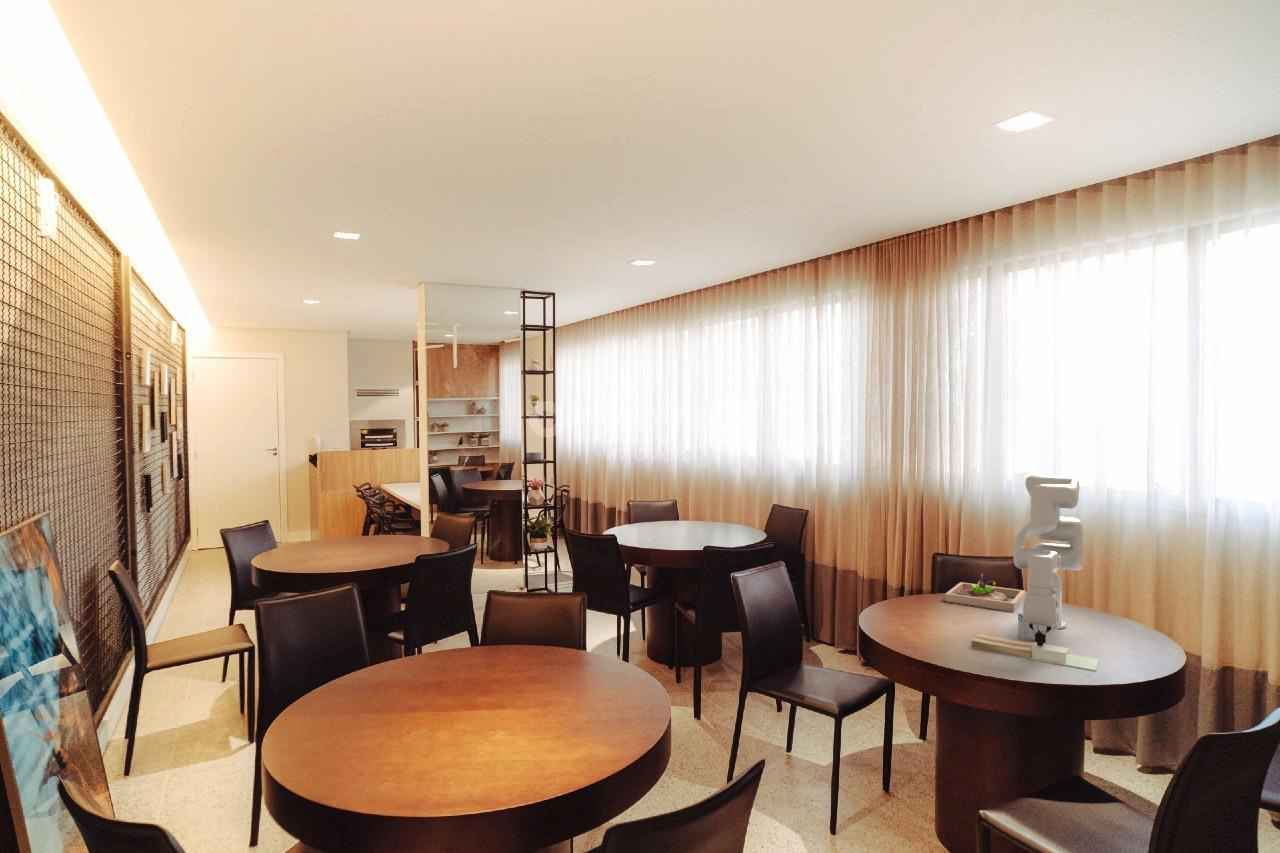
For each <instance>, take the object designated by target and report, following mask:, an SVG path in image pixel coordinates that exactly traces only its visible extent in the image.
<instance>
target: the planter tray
mask: <svg viewBox="0 0 1280 853" xmlns="http://www.w3.org/2000/svg"><path fill="white" fill-rule="evenodd" d="M971 584H972V583H968V582H962V581H961V582H959V583H957V584H956V585H955V586H954V587H952V588H951V589H950V590H948V591H947V592H946V593H944V602H945V601H948V602H947V603H950V602H955V603H954V604H957V603H962V604H961V605H964V604H969V605H968V606H970V605H975V606H974V607H977V606H980V607H979V608H984V607H986V608H985V609H990V608H992V610H997V609H998V611H1005V612H1011V613H1015V612H1016V610H1017V609H1018V608H1019V607H1020V606H1021V604H1023V603H1024V597H1025V593H1026V590H1022V589H1016V588H1006V587H1002V586H1001V587H1000V586H994V585H993V586H992V585H989V588H990V587H991V588H993V587H995V588H994V589H992V590H995V591H996V590H997V591H998V592H1001V593H1004V594H1005V596H1006V597H1007V598H1012V597H1015V598H1013V599H1012V600H1011V601H1010V602H1009V601H1008V602H1005V601H998V600H991V599H984V598H977V597H970V596H963V595H957V593H960V591H961V590H962V589H973V588H972V587H973V586H972V585H971ZM973 584H974V585H976V586H977V584H976V583H973Z"/></svg>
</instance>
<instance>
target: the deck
mask: <svg viewBox="0 0 1280 853" xmlns="http://www.w3.org/2000/svg"><path fill="white" fill-rule="evenodd" d="M1034 643H1035V642H1028V641H1025V640H1023V641H1021V640H1017V639H1011V638H1006V637H1005V638H1004V637H1000V636H995V635H994V636H993V635H989V634H983V633H982V634H981V633H977V634H976V635H975V637H973V639H972V640H971V649H972V648H973V649H978V650H983V651H988V652H994V653H999V654H1004V655H1008V656H1009V655H1010V656H1016V657H1021V658H1027V659H1031V658H1032V656H1031V647H1032V645H1033V644H1034Z"/></svg>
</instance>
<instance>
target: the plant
mask: <svg viewBox="0 0 1280 853" xmlns="http://www.w3.org/2000/svg"><path fill="white" fill-rule="evenodd" d="M979 577H980V578H979V580H978V582H977V586H976V585H974V584H975V583H970V584H971V585H972V586H973V587H972V588H973V589H962V590H961V591H960V593H957V595H963V596H970V597H977V598H984V599H991V600H998V601H1005V602H1009V601H1008V597H1006V596H1005V594H1004V593H1001V592H998V591H997V590H996V591H995V590H992V589H994V588H995V587H996V582H995V581H994V580H988V581H986V582H984V581H983V580H984V579H983V577H984V574H983V573H980V574H979ZM988 583H991V584H992V585H993V588H991V587H990V588H989V586H990V585H989V584H988Z"/></svg>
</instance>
